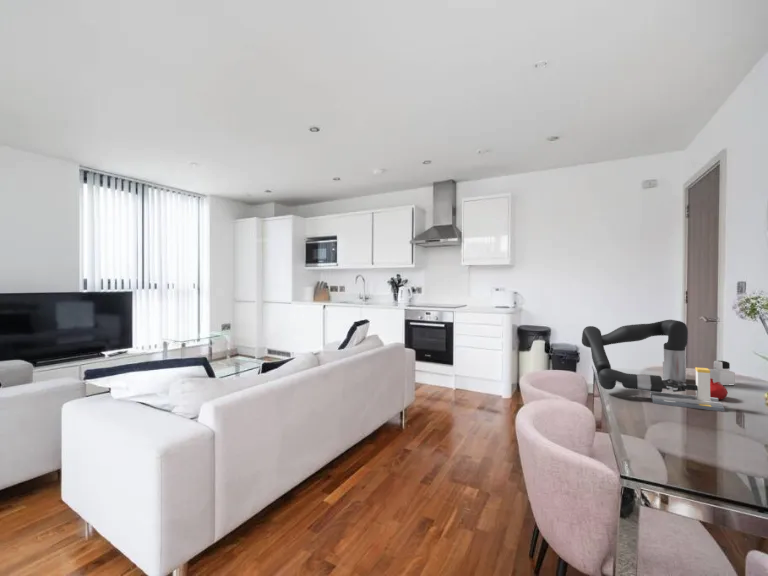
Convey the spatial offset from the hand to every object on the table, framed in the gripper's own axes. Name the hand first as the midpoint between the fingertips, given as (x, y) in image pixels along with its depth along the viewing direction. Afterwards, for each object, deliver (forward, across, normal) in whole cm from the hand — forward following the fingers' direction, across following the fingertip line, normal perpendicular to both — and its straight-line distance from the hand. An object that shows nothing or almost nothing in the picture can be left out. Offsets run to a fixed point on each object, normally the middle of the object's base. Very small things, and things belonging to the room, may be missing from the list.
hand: (697, 387), depth 157 cm
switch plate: (-4, 0, -8) cm, 9 cm away
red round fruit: (+8, -14, -8) cm, 18 cm away
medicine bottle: (+18, -43, -8) cm, 48 cm away
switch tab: (+2, 0, -6) cm, 6 cm away
